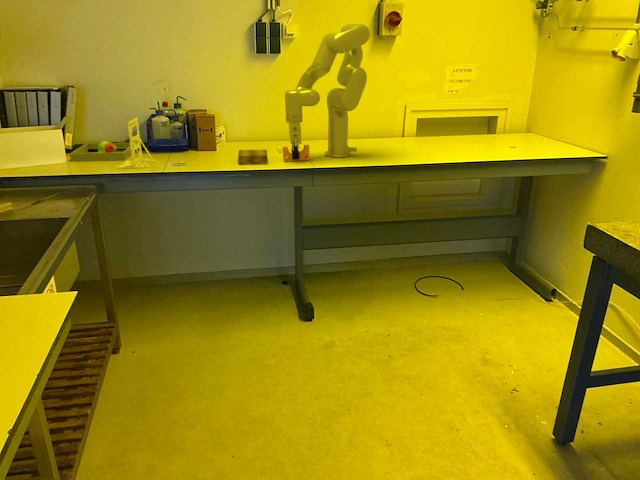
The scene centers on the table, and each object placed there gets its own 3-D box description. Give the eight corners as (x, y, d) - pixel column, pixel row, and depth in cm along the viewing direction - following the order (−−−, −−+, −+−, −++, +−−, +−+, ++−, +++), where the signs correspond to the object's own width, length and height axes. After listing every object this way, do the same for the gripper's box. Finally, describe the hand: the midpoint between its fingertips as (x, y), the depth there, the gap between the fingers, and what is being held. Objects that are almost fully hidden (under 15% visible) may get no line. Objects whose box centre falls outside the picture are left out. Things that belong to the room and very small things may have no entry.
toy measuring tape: (121, 153, 253) (119, 140, 251) (88, 161, 237) (85, 146, 235) (112, 152, 256) (110, 138, 254) (78, 159, 240) (76, 145, 238)
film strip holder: (125, 161, 237) (119, 117, 230) (155, 161, 238) (150, 117, 231) (115, 168, 224) (109, 122, 217) (148, 168, 225) (142, 122, 218)
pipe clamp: (307, 157, 245) (307, 143, 242) (309, 159, 241) (309, 145, 238) (282, 159, 242) (282, 145, 240) (284, 161, 239) (283, 147, 236)
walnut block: (267, 157, 246) (266, 149, 245) (267, 164, 234) (267, 155, 233) (239, 158, 245) (239, 149, 243) (238, 164, 233) (238, 155, 231)
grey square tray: (136, 149, 261) (135, 142, 260) (125, 160, 239) (124, 152, 237) (87, 150, 258) (86, 143, 257) (71, 161, 236) (69, 153, 235)
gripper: (303, 121, 227) (305, 161, 234) (300, 115, 243) (302, 153, 249) (286, 121, 226) (288, 162, 233) (285, 115, 242) (286, 154, 249)
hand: (295, 157), depth 241 cm, fingers closed on pipe clamp, 4 cm apart
